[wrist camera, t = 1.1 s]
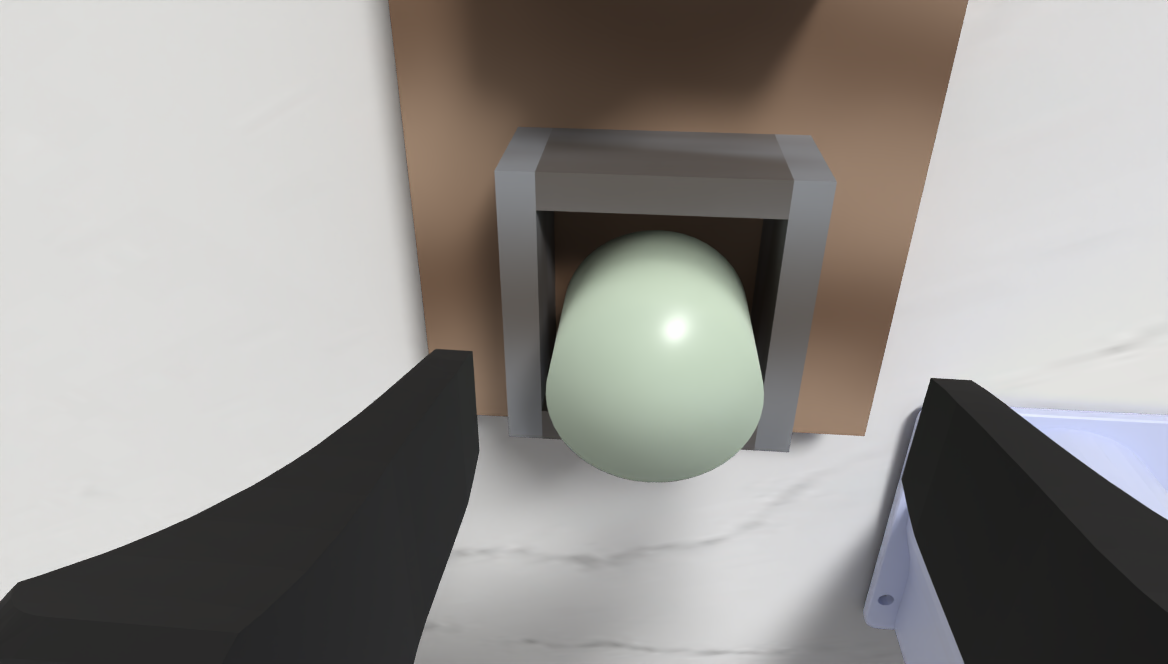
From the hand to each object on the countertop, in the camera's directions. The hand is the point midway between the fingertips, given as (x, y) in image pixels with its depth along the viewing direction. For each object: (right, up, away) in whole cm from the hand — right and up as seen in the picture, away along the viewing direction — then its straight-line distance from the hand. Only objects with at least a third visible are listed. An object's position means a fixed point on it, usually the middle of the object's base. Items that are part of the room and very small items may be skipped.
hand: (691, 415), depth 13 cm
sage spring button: (0, +2, +5) cm, 5 cm away
